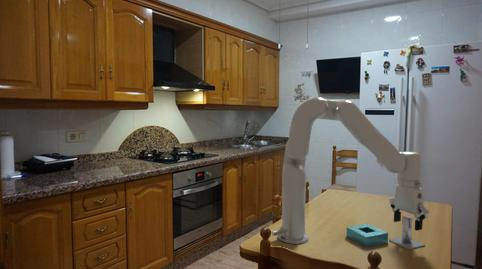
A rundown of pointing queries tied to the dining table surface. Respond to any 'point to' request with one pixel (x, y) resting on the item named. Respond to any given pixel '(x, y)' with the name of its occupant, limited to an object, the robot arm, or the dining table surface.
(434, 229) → the dining table surface
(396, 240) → the grey rubber mat
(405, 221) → the steel key rod
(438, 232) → the dining table surface
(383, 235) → the teal socket block
